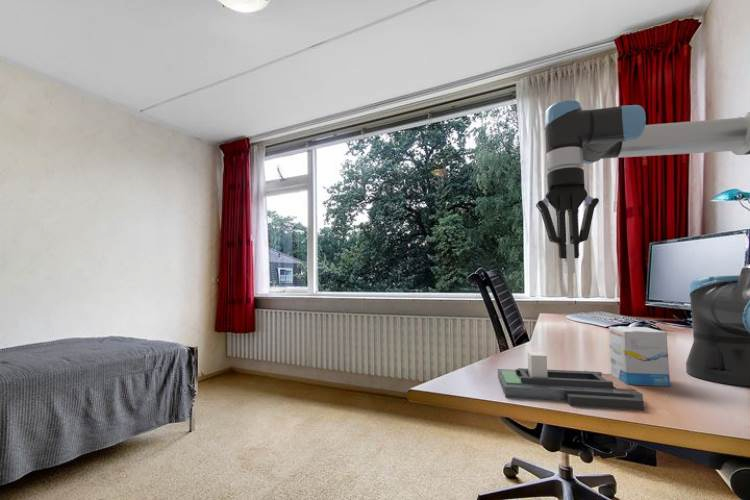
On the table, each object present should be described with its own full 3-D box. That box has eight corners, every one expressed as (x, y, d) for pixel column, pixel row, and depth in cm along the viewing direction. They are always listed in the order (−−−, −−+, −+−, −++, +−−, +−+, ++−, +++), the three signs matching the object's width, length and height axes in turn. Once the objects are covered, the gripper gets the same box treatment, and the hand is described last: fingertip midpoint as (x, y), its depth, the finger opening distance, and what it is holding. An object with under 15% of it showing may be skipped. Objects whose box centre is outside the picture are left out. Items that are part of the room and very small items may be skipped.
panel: (611, 383, 80) (611, 369, 80) (643, 405, 67) (642, 388, 67) (497, 377, 85) (497, 364, 86) (505, 397, 72) (504, 381, 72)
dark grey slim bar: (600, 379, 84) (600, 371, 84) (603, 381, 82) (603, 373, 82) (518, 374, 88) (517, 368, 88) (519, 376, 86) (518, 369, 86)
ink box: (671, 387, 77) (667, 331, 78) (627, 384, 79) (624, 330, 80) (649, 376, 86) (646, 326, 87) (610, 374, 87) (607, 325, 88)
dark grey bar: (639, 407, 66) (639, 398, 66) (644, 410, 64) (643, 401, 64) (567, 402, 68) (567, 393, 69) (570, 405, 67) (569, 396, 67)
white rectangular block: (543, 375, 79) (542, 351, 79) (547, 380, 75) (546, 355, 75) (528, 374, 79) (527, 351, 80) (532, 379, 76) (531, 355, 76)
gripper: (590, 173, 86) (595, 273, 84) (531, 176, 88) (535, 273, 87) (602, 163, 78) (608, 272, 77) (538, 168, 81) (542, 273, 79)
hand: (569, 273), depth 82 cm, fingers closed
